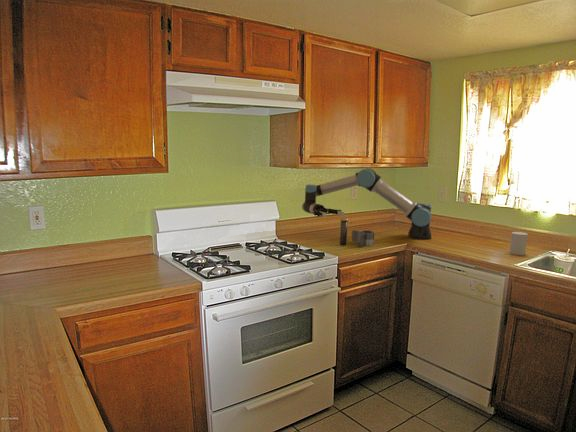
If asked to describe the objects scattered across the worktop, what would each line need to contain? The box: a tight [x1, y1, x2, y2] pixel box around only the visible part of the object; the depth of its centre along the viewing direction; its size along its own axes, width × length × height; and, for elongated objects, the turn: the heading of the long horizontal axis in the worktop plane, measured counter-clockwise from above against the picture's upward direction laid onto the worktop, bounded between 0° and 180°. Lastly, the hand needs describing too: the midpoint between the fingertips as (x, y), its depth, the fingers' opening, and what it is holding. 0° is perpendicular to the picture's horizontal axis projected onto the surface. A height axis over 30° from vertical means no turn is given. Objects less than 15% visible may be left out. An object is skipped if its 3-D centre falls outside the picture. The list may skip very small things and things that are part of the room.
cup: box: [508, 231, 529, 256], centre depth 244 cm, size 8×8×12 cm
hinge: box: [351, 229, 375, 249], centre depth 257 cm, size 14×14×8 cm
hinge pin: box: [339, 217, 349, 247], centre depth 255 cm, size 5×5×16 cm
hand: (334, 214), depth 262 cm, fingers open, 13 cm apart
